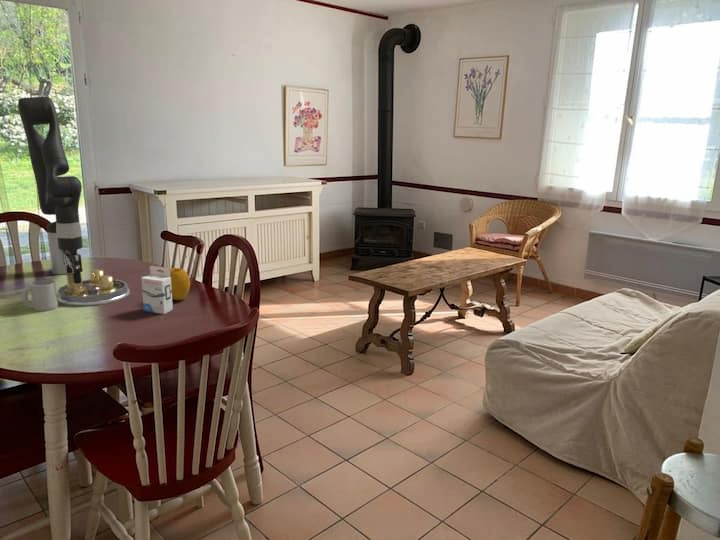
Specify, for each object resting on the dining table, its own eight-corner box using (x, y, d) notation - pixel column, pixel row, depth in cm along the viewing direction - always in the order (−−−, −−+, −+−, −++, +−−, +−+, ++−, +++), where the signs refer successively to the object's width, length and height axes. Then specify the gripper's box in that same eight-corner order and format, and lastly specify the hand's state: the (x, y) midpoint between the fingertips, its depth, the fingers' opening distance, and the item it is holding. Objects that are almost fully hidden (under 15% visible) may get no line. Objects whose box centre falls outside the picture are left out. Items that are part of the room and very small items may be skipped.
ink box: (142, 311, 184) (139, 268, 180) (152, 306, 188) (149, 265, 185) (164, 314, 181) (161, 271, 178) (173, 309, 186) (170, 267, 182)
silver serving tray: (50, 293, 199) (47, 273, 197) (117, 283, 214) (115, 264, 212) (67, 310, 182) (64, 288, 180) (139, 297, 197) (137, 277, 195)
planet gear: (63, 294, 195) (60, 273, 193) (83, 291, 199) (81, 270, 197) (68, 299, 190) (65, 277, 188) (89, 296, 194) (87, 274, 192)
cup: (58, 309, 183) (55, 284, 181) (23, 314, 178) (20, 287, 176) (57, 303, 189) (54, 278, 187) (23, 307, 184) (20, 282, 182)
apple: (157, 299, 196) (155, 267, 193) (180, 293, 204) (178, 262, 201) (173, 305, 191) (171, 272, 188) (196, 298, 198) (195, 267, 195)
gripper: (52, 232, 191) (57, 277, 196) (62, 239, 181) (68, 286, 185) (75, 230, 196) (80, 274, 200) (87, 237, 186) (91, 283, 190)
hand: (74, 280), depth 193 cm, fingers open, 8 cm apart
